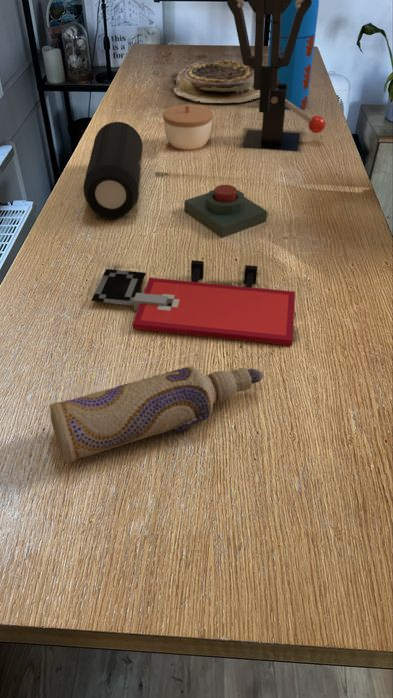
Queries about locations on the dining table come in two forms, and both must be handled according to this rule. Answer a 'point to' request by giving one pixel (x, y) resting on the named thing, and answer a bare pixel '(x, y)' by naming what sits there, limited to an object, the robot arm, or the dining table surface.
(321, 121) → the lever
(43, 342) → the dining table surface
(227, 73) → the pie
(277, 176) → the dining table surface
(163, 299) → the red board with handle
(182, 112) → the trinket box
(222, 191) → the button
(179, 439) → the dining table surface
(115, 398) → the decorative bottle
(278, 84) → the bracket
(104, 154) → the portable speaker
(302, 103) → the thermos
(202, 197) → the button box
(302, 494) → the dining table surface
